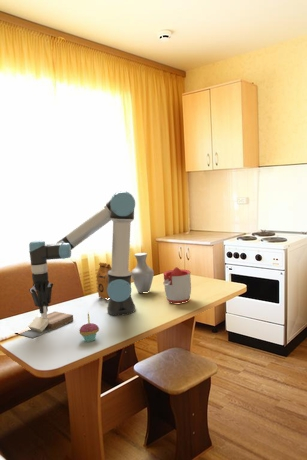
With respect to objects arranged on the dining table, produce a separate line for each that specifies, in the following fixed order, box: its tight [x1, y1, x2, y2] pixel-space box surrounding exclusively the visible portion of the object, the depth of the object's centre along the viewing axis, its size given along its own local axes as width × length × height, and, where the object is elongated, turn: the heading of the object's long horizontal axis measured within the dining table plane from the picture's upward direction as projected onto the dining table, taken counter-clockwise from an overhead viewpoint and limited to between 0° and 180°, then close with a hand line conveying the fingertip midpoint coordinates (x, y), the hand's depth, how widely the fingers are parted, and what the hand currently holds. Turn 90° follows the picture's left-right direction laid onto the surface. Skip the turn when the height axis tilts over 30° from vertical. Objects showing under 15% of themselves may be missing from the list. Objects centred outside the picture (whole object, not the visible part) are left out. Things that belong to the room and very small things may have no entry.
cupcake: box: [79, 312, 100, 343], centre depth 160 cm, size 9×8×12 cm
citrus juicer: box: [162, 266, 192, 304], centre depth 205 cm, size 16×17×20 cm
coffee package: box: [96, 262, 111, 299], centre depth 222 cm, size 10×12×22 cm
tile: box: [27, 316, 50, 332], centre depth 177 cm, size 9×6×2 cm, turn 55°
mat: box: [20, 328, 52, 339], centre depth 175 cm, size 14×11×1 cm
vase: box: [131, 252, 155, 293], centre depth 228 cm, size 14×14×25 cm
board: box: [38, 311, 74, 331], centre depth 185 cm, size 14×14×3 cm
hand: (44, 318), depth 179 cm, fingers closed
